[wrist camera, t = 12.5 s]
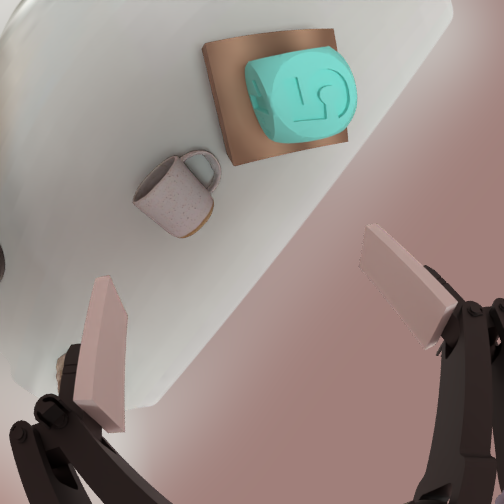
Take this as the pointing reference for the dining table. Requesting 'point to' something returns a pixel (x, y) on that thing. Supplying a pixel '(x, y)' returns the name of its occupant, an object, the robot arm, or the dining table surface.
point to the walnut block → (236, 94)
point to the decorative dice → (302, 94)
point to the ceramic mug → (177, 195)
